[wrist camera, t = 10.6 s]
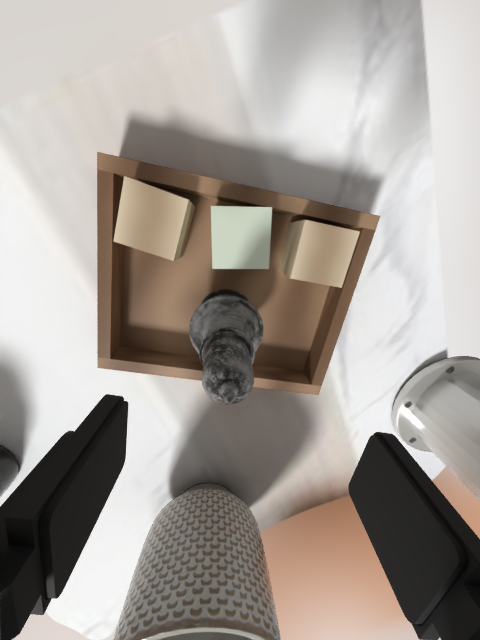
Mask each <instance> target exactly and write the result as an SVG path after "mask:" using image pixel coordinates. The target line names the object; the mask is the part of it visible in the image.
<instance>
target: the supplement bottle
mask: <svg viewBox="0 0 480 640" xmlns="http://www.w3.org/2000/svg"><path fill="white" fill-rule="evenodd" d="M17 474H18V463H17V461H16V459H15V457H14V456H13V455H12V454H11V453H10V452H9V451H7V450H6V449H4V448H2V447H0V497H1V496H2V495H3V494H4V492H5V491H6V490H7V489H8V487H9V486H10V485H11V484H12V482H13V481H14V480H15V478H16V476H17Z"/></svg>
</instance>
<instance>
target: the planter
mask: <svg viewBox="0 0 480 640" xmlns="http://www.w3.org/2000/svg"><path fill="white" fill-rule="evenodd" d="M113 640H280V633H279V627H278V620H277V615H276V609H275V604H274V599H273V594H272V588H271V582H270V577H269V571H268V567H267V562H266V557H265V552H264V548H263V544H262V540H261V536H260V532H259V529H258V525H257V522H256V520H255V517H254V516H253V514H252V512H251V510H250V509H249V507H248V506H247V505H246V504H245V503H244V502H243V501H242V500H241V499H239V498H238V497H236V496H235V495H233V494H232V493H231V492H230V491H229V490H228V489H226V488H225V487H223V486H221V485H218V484H212V483H204V484H198V485H195V486H193V487H191V488H189V489H188V490H186V491H185V492H184V493H183V494H182V495H180V496H178V497H176V498H175V499H173V500H172V501H170V502H169V503H168V504H167V505H166V506H165V507H164V508H163V509H162V510H161V511H160V513H159V514H158V516H157V517H156V519H155V521H154V523H153V524H152V527H151V529H150V531H149V533H148V536H147V538H146V540H145V543H144V546H143V548H142V551H141V554H140V557H139V560H138V563H137V566H136V569H135V572H134V574H133V578H132V581H131V584H130V587H129V591H128V594H127V597H126V600H125V603H124V606H123V610H122V613H121V616H120V619H119V622H118V625H117V628H116V632H115V635H114V639H113Z"/></svg>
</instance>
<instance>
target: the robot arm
mask: <svg viewBox="0 0 480 640" xmlns="http://www.w3.org/2000/svg"><path fill="white" fill-rule="evenodd" d="M127 418H128V402H127V401H124V398H123V397H122V396H115V395H108V394H107V395H105V396H104V397H103V398H102V399H101V400H100V401H99V403H98V404H97V405H96V406H95V408H94V409H93V410H92V411H91V412H90V414H89V415H88V416H87V417H86V418H85V420H84V421H83V422H82V423H81V424H80V426H79V427H78V428H77V429H76V430H75V432H74V431H68V432H66V433H65V434H64V435H63V436H62V437H61V438H60V439H59V440H58V441H57V443H56V444H55V445H54V446H53V447H52V448H51V449H50V451H49V452H48V453H47V454H46V455H45V456H44V457H43V459H42V460H41V461H40V462H39V463H38V464H37V465H36V467H35V468H34V469H33V470H32V471H31V472H30V473H29V475H28V476H27V477H26V478H25V479H24V480H23V481H22V483H21V484H20V485H19V486H18V487H17V488H16V489H15V491H14V492H13V493H12V494H11V495H10V496H9V498H8V499H7V500H6V501H5V502H4V503H3V504H2V506H1V507H0V640H14V638H15V637H16V636H17V635H18V634H20V632H21V630H22V628H23V627H24V625H25V623H26V621H27V619H28V617H29V616H30V614H37V615H43V614H44V613H45V611H46V609H47V607H48V605H49V603H50V601H51V599H52V598H58V597H59V596H60V594H61V593H62V591H63V589H64V587H65V585H66V583H67V581H68V579H69V577H70V575H71V573H72V571H73V569H74V567H75V565H76V563H77V561H78V559H79V557H80V554H81V552H82V550H83V548H84V546H85V544H86V542H87V540H88V538H89V536H90V534H91V532H92V530H93V528H94V526H95V524H96V522H97V520H98V517H99V515H100V513H101V511H102V509H103V507H104V505H105V503H106V501H107V499H108V497H109V495H110V493H111V491H112V489H113V487H114V485H115V483H116V480H117V478H118V476H119V474H120V472H121V470H122V468H123V465H124V462H125V456H126V437H127ZM392 422H393V426H394V428H395V431H396V432H397V434H398V435H399V436H400V437H401V438H402V440H403V441H404V442H405V443H406V444H408V445H409V446H411V447H413V448H415V449H418V450H421V451H428V452H433V453H434V454H435V455H436V456H437V457H438V458H439V459H440V460H441V461H442V462H443V463H444V464H445V465H446V466H447V467H448V468H449V469H450V470H451V471H452V472H453V473H454V474H455V475H456V476H457V477H458V478H459V480H460V481H461V482H462V483H463V484H464V485H465V486H466V487H467V488H468V489H469V490H470V491H471V492H472V493H473V494H474V495H475V496H476V497H477V498H478V499H479V500H480V359H479V358H475V357H469V356H459V357H452V358H447V359H443V360H441V361H438V362H435V363H433V364H431V365H429V366H427V367H426V368H424V369H422V370H421V371H420V372H418V373H417V374H415V375H414V376H413V377H412V378H411V379H410V380H409V381H408V382H407V383H406V384H405V386H404V387H403V388H402V389H401V391H400V392H399V394H398V396H397V398H396V400H395V403H394V406H393V410H392ZM349 494H350V497H351V499H352V501H353V503H354V505H355V508H356V510H357V512H358V514H359V516H360V519H361V521H362V523H363V525H364V527H365V530H366V532H367V534H368V536H369V538H370V540H371V543H372V545H373V547H374V549H375V551H376V554H377V556H378V558H379V560H380V563H381V565H382V567H383V569H384V571H385V574H386V576H387V578H388V580H389V582H390V584H391V587H392V589H393V591H394V593H395V595H396V597H397V600H398V602H399V604H400V607H401V609H402V611H403V613H404V615H405V617H406V618H407V620H408V621H409V622H410V623H412V625H413V627H414V629H415V631H416V633H417V636H418V638H419V639H420V640H421V639H422V640H438V639H439V637H440V638H441V640H480V539H479V538H478V537H477V535H476V534H475V533H474V532H473V530H472V529H471V528H470V527H469V526H468V525H467V523H466V522H465V521H464V520H463V519H462V517H461V516H460V515H459V514H458V512H457V511H456V510H455V509H454V507H453V506H452V505H451V504H450V502H449V501H448V500H447V499H446V498H445V496H444V495H443V494H442V493H441V492H440V490H439V489H438V488H437V487H436V485H435V484H434V483H433V482H432V481H431V479H430V478H429V477H428V476H427V474H426V473H425V472H424V471H423V470H422V468H421V467H420V466H419V465H418V463H417V462H416V461H415V460H414V459H413V457H412V456H411V455H410V454H409V453H408V451H407V450H406V449H405V448H404V446H403V445H402V444H401V443H400V442H399V440H398V439H397V438H396V437H395V436H394V435H393V434H388V433H381V432H376V433H374V435H372V436H371V437H370V438H369V440H368V443H367V445H366V447H365V449H364V452H363V454H362V456H361V458H360V461H359V463H358V465H357V467H356V469H355V472H354V474H353V476H352V478H351V481H350V483H349Z"/></svg>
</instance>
